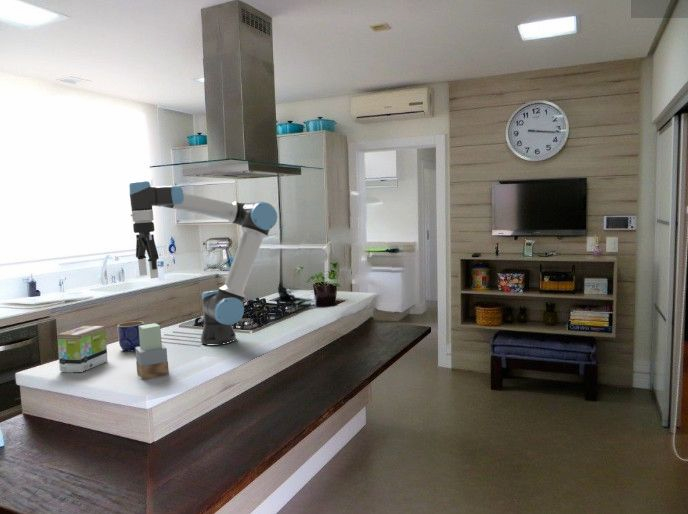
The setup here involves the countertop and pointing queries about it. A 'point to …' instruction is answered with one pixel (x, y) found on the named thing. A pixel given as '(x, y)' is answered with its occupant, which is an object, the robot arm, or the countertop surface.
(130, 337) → the planter
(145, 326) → the green block
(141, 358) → the tower top
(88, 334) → the tea box
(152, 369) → the tower base
